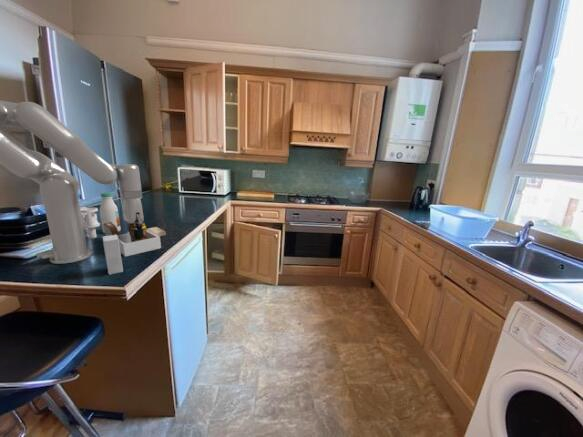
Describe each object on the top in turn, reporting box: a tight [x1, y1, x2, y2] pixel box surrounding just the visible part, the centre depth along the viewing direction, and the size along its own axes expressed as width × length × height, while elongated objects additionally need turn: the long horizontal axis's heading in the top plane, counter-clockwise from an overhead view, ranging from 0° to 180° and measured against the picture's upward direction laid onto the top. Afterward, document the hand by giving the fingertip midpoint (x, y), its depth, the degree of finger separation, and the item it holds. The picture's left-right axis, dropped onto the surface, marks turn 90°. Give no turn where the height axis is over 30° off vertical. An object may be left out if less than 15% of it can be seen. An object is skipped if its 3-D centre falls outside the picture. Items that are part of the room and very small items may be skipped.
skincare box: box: [102, 235, 124, 276], centre depth 86 cm, size 6×4×12 cm
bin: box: [117, 230, 162, 257], centre depth 108 cm, size 14×15×5 cm
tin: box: [104, 222, 120, 236], centre depth 115 cm, size 15×3×8 cm, turn 47°
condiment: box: [129, 220, 147, 242], centre depth 108 cm, size 7×8×12 cm
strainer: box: [80, 206, 101, 239], centre depth 119 cm, size 7×7×15 cm
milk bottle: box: [99, 192, 122, 234], centre depth 128 cm, size 8×8×20 cm
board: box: [126, 226, 167, 237], centre depth 126 cm, size 14×11×2 cm
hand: (136, 236), depth 108 cm, fingers closed on condiment, 6 cm apart
